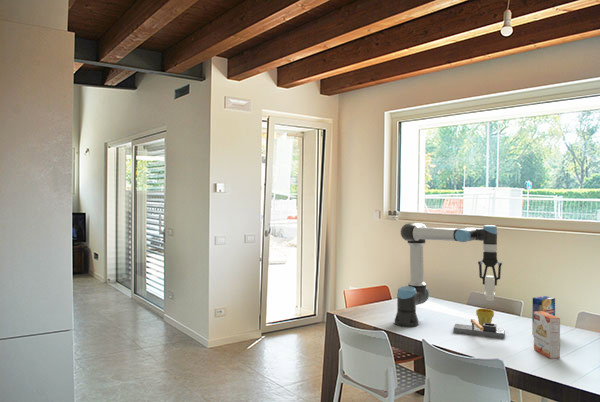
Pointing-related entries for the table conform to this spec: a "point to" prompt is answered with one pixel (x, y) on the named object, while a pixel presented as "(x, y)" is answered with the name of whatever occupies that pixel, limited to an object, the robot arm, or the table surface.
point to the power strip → (487, 331)
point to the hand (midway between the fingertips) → (489, 290)
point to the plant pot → (484, 316)
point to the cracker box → (547, 334)
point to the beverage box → (543, 306)
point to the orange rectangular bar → (476, 324)
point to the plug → (489, 288)
